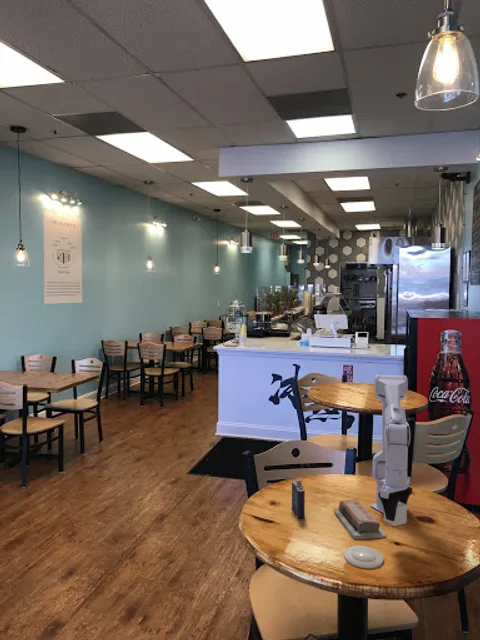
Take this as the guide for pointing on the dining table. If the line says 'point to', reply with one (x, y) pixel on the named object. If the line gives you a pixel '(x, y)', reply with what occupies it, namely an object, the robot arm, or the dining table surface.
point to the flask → (298, 499)
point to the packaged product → (358, 520)
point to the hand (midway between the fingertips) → (395, 516)
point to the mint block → (399, 515)
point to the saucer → (363, 557)
